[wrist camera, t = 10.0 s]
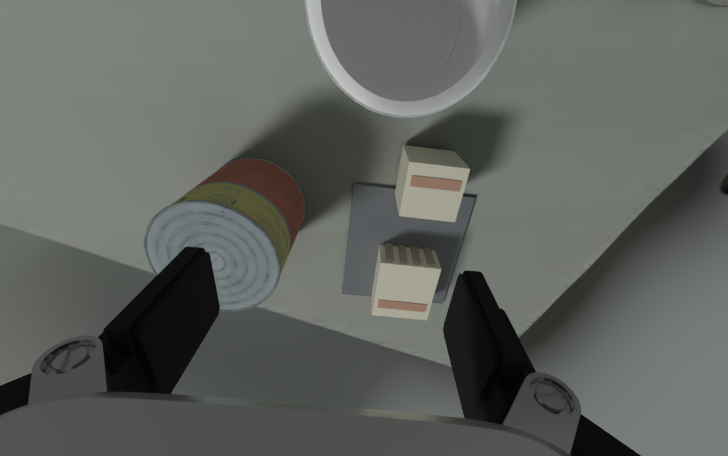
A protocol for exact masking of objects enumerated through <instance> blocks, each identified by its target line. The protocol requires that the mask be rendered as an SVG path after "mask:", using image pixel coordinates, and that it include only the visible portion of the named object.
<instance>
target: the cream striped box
mask: <svg viewBox="0 0 728 456" xmlns="http://www.w3.org/2000/svg"><path fill="white" fill-rule="evenodd" d="M440 272H441V266H440V263H439V260H438V258H437V255H436V252H435V250H431V249H430V248H429V247H424V248H423V249H419V248H418V247H417V246H411V248H410V247H405V245H401V244H398V246H392V243H386V244H385V245H382V244H380V245H379V252H378V258H377V264H376V270H375V276H374V283H373V289H372V315H378V316H388V317H398V318H408V319H419V320H427V318H428V314H429V311H430V307H431V304H432V300H433V297H434V293H435V290H436V286H437V283H438V279H439V276H440Z"/></svg>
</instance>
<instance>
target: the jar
mask: <svg viewBox="0 0 728 456" xmlns="http://www.w3.org/2000/svg"><path fill="white" fill-rule="evenodd" d="M304 3H305V13H306V19H307V24H308V29H309V33H310V36H311V39H312V42H313V45H314V48H315V50H316V53H317V55H318V57H319V59H320V61H321V63H322V65H323V67H324V68H325V70H326V71H327V73H328V74H329V76H330V77H331V79H332V80H333V81H334V82H335V84H336V85H337V86H338V87H339V88H340V89H341V90H342V91H343V92H344V93H345V94H346V95H347V96H348V97H350V98H351V99H352V100H354V101H355V102H356V103H358V104H359V105H361V106H363V107H365V108H367V109H369V110H371V111H373V112H376V113H378V114H382V115H385V116H390V117H396V118H416V117H422V116H427V115H431V114H434V113H437V112H439V111H442V110H444V109H446V108H448V107H450V106H452V105H454V104H455V103H457V102H458V101H460V100H461V99H463V98H464V97H465V96H466V95H468V94H469V93H470V92H471V91H472V90H473V89H474V88H475V87H476V86H477V85H478V84H479V83H480V82H481V81H482V80H483V79H484V77H485V76H486V75H487V74H488V72H489V71H490V70H491V68H492V67H493V65H494V64H495V62H496V60H497V59H498V57H499V55H500V53H501V51H502V49H503V47H504V45H505V43H506V40H507V38H508V35H509V32H510V29H511V26H512V23H513V19H514V15H515V10H516V4H517V0H304Z"/></svg>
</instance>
